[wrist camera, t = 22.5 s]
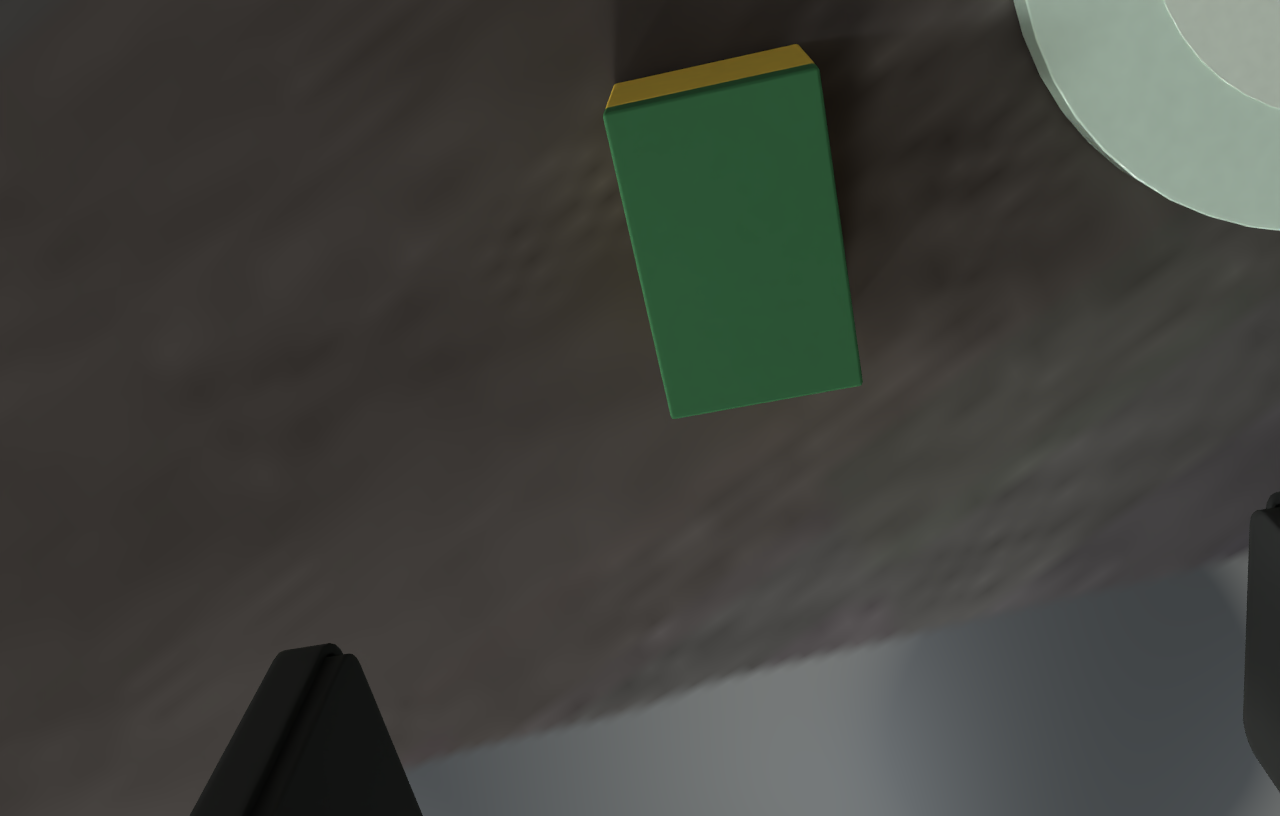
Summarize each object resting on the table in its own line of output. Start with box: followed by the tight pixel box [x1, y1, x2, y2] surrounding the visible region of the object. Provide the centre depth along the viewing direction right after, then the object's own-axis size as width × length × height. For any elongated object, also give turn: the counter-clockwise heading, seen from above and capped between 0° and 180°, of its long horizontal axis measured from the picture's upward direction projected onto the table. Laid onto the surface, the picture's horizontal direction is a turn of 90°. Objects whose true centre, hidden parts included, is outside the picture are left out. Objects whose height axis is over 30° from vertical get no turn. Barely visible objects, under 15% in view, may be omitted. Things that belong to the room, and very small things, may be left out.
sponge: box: [603, 44, 863, 419], centre depth 27 cm, size 8×5×4 cm, turn 12°
